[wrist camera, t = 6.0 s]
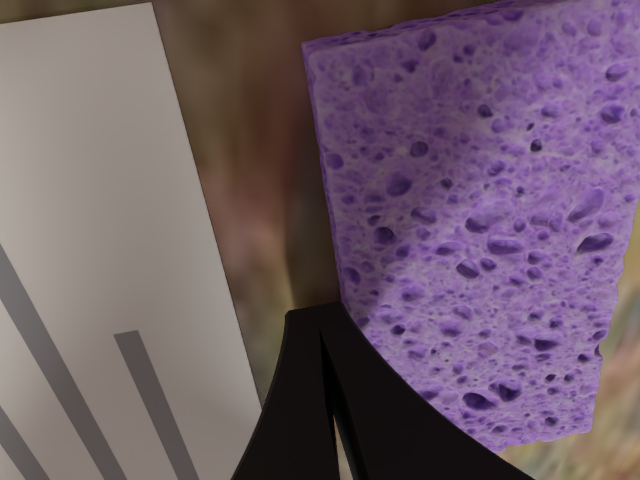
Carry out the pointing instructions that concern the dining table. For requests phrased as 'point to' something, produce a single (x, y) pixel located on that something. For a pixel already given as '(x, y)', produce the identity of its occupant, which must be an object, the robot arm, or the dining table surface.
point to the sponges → (485, 201)
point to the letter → (109, 265)
